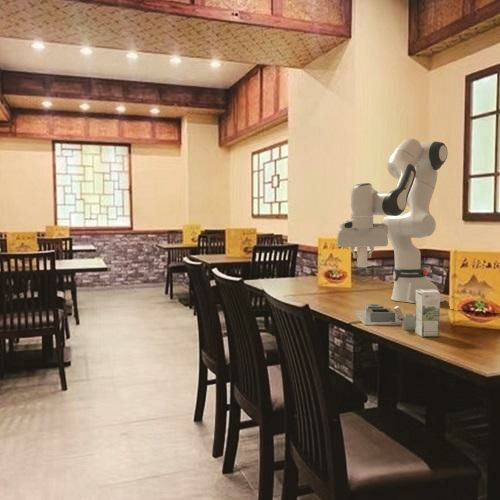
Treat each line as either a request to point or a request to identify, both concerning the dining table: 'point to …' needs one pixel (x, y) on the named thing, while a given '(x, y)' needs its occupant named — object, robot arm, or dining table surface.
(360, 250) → the white rounded cylinder
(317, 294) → the dining table surface
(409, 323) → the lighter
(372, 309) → the fitting board
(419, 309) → the syrup box
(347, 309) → the dining table surface
